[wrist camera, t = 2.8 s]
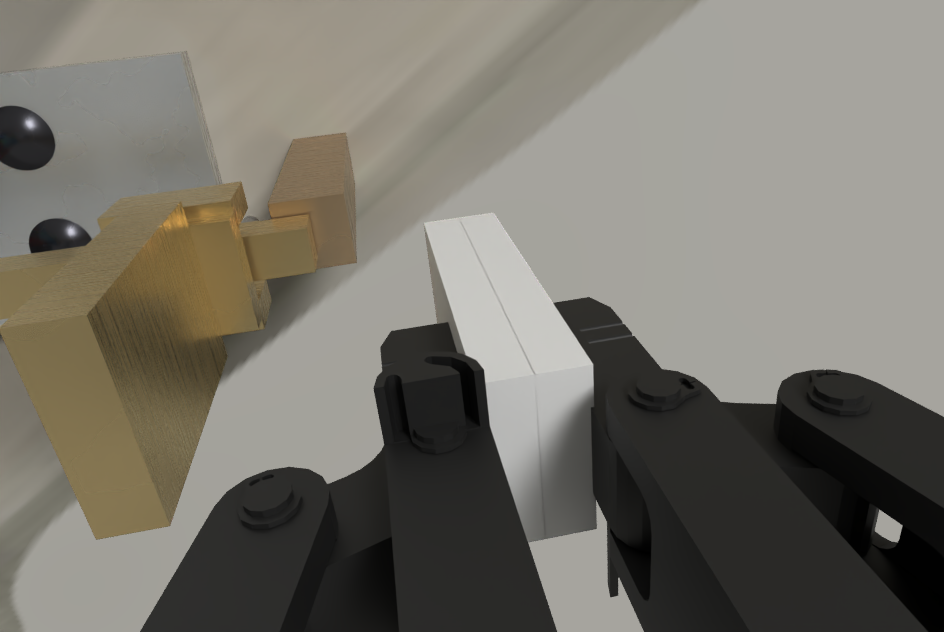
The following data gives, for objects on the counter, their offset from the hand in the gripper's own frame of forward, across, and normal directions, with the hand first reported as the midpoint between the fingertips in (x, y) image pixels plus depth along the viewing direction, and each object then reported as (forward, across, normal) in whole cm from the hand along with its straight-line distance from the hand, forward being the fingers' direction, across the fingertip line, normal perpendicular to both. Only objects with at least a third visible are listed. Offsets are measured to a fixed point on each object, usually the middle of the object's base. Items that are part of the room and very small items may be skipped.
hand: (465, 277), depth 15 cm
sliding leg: (+12, -6, 0) cm, 14 cm away
